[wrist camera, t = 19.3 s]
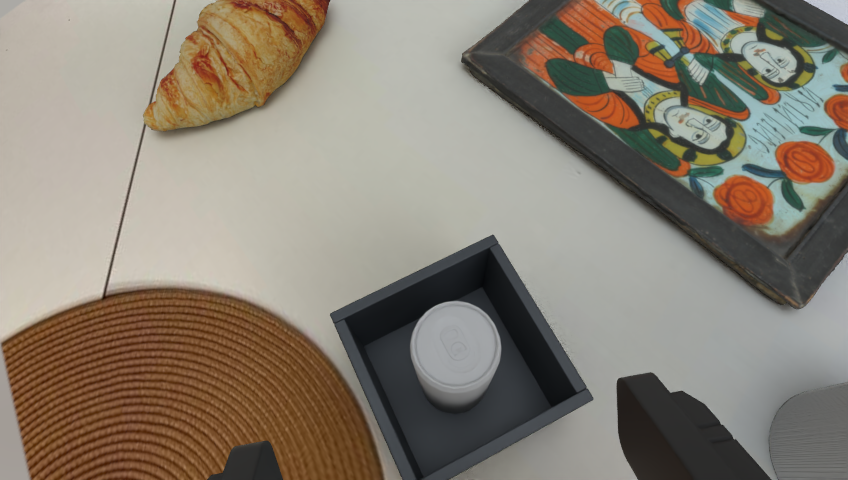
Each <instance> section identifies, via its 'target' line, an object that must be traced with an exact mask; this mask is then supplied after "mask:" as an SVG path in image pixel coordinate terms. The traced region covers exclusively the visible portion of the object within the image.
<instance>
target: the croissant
mask: <svg viewBox="0 0 848 480" xmlns="http://www.w3.org/2000/svg"><path fill="white" fill-rule="evenodd" d="M329 2H330V0H218V1H216V2H215V3H211V4H209V5H207V6H206V7H205V8H204V9H203V10H202V11H201V13H200V14H199V20H198V21H197V23H198V27H199V28H198V30H197V31H194V32H193V33H192V34H191V35H189V36H187V37H186V38H185V39H186V40H185V41H184V43H183V44H182V45H181V50H180V53H181V54H180V56H179V63H177V64H176V65H175V67H174V69H173V70H172V71H171V72H170V73H169V74H168V75H167V76H166V77H164V78H163V79H162V80H161V82H160V85H159V87H158V89H157V94H156V101H155V102H153V103H151V104H150V105H149V106H148V107H147V109H146V110H145V112H144V114H143V117H144V124H146V125H147V126H148V127H150V128H151V130H156V131H167V130H173V129H177V128H185V127H196V126H200V125H204V124H208V123H209V122H212V121H216V120H220V119H223V118H229V117H231V116H233V115H235V114H237V113H240V112H242V111H244V110H247V109H250V108H252V107H254V106H255V105H256V106H257V107H260V106H262V105H264V103H265V102H266V100H267V98H268V97H269V96H270V95H271V94H272V93H273V91H274V90H276V89H277V88H279V87H280V86H281V85H283V84H284V83H285V82H286V81H287V80H288V79H289V78H290V77H291V76H292V74H293V73H294V72H295V70H296V69H297V67H298V66H299V64H300V62H301V60H302V58H303V55H304V54H305V53H306V52H307V50H308V48H309V46H310V44H311V43H312V41H313V40H314V38H315V37H316V34H317V33H318V32H319V31H320V30H321V28H322V26H323V25H324V23H325V18H326V14H327V9H328V5H329Z"/></svg>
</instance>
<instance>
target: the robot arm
mask: <svg viewBox="0 0 848 480" xmlns="http://www.w3.org/2000/svg"><path fill="white" fill-rule="evenodd" d="M617 410H618V433H619V439H620V443H621V447H622V450H623V453H624V455H625V457H626V459H627V461H628V463H629V465H630V466H631V468H632V470H633V472H634V473H635V475H636V477H637V479H638V480H771V479H770V477H769V476H768V475H767V474H766V473H765V472H764V471H763V470H762V468H761V467H760V466H759V465H758V464H757V463H756V462H755V461H754V459H753V458H752V457H751V456H750V455H749V454H748V453H747V451H746V450H745V449H744V448H743V447H742V446H741V445H740V444H739V442H738V441H737V440H736V439H735V440H734V439H733V437H732V435H731V433H730V432H729V431H728V430H727V429H726V428H725V427H724V426H723V425H721V424H720V421H719V420H718V419H717V418H716V417H715V415H714V414H713V413H712V412H711V411H710V410H709V409H708V408H707V406H706V405H705V404H704V403H702V402H700V401H698V400H697V399H695V398H693V397H692V396H690V395H688V394H687V393H685V392H683V391H678V392H673V393H670V392H669V391H668V390H667V388H666V387H665V386H664V385H663V384H662V382H661V381H660V380H659V379H658V377H657V376H656V375H655V374H653V373H651V372H650V373H644V374H639V375H633V376H628V377H622V378H619V379H618V380H617ZM207 480H283V478H282V475H281V472H280V469H279V466H278V463H277V460H276V457H275V454H274V451H273V448H272V446H271V444H270V442H269V441H262V442H257V443H251V444H246V445H240V446H235V447H233V449H232V450H231V452H230V455H229V457H228V460H227V463H226V466H225V468H224V471H223V473H220V474H214V475H211V476H210V477H209V478H208V479H207Z"/></svg>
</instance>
